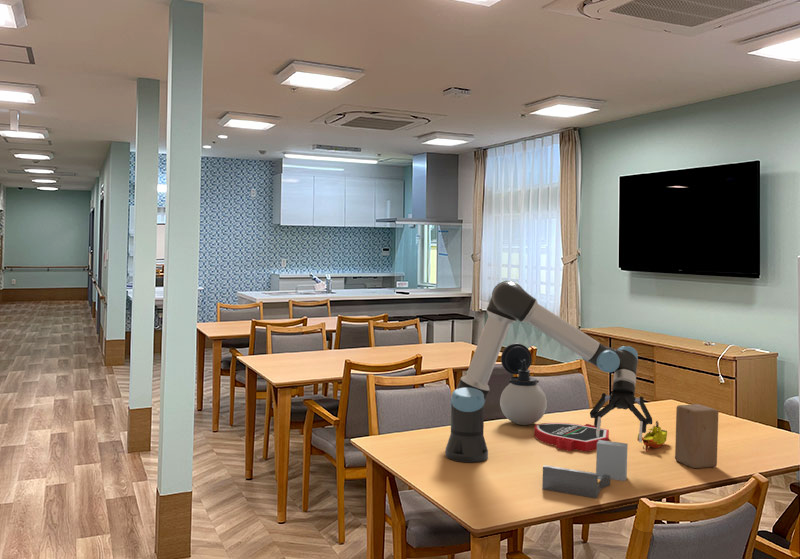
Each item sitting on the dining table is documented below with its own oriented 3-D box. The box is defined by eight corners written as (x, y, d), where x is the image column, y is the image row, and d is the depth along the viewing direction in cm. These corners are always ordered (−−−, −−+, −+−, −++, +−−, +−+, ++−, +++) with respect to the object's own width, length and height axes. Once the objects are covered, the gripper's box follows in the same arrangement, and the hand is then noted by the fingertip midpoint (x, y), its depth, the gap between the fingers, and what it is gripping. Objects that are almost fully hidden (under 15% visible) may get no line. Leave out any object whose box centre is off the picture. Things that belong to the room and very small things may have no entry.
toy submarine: (636, 450, 240) (636, 423, 239) (656, 441, 252) (657, 416, 252) (653, 453, 235) (653, 426, 235) (673, 444, 248) (674, 419, 248)
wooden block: (693, 469, 218) (695, 411, 217) (673, 460, 227) (675, 404, 227) (718, 467, 220) (719, 409, 220) (697, 458, 230) (699, 403, 229)
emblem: (550, 417, 274) (620, 429, 256) (550, 426, 274) (620, 439, 256) (517, 431, 249) (593, 446, 231) (517, 441, 250) (592, 456, 231)
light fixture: (505, 430, 264) (507, 350, 264) (493, 416, 287) (494, 343, 286) (552, 430, 266) (554, 350, 265) (536, 416, 289) (537, 343, 288)
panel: (598, 472, 213) (598, 439, 212) (626, 477, 209) (627, 443, 208) (595, 476, 209) (596, 443, 208) (625, 481, 205) (625, 447, 204)
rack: (546, 474, 210) (546, 453, 210) (610, 484, 201) (610, 462, 201) (535, 488, 197) (536, 465, 197) (603, 499, 188) (604, 476, 188)
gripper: (662, 394, 225) (658, 448, 212) (588, 388, 235) (581, 439, 222) (661, 382, 220) (658, 436, 207) (586, 376, 230) (579, 427, 217)
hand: (618, 437), depth 214 cm, fingers open, 13 cm apart
